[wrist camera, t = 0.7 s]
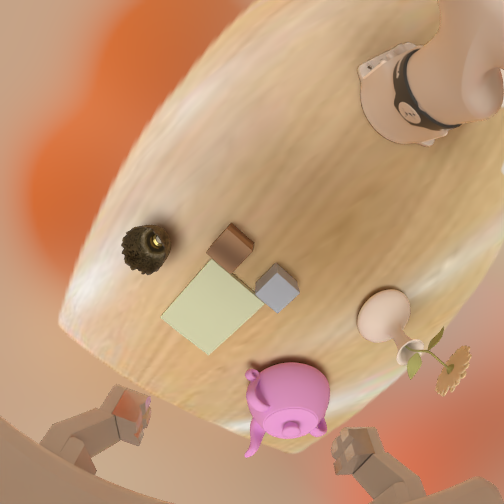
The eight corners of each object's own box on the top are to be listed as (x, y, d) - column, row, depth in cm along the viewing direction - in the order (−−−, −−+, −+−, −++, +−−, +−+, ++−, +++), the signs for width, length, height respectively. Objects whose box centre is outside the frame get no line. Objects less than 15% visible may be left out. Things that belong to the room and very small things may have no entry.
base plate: (212, 256, 47) (211, 258, 46) (264, 300, 49) (264, 303, 47) (162, 314, 51) (160, 317, 49) (209, 351, 52) (208, 355, 51)
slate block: (275, 262, 47) (277, 272, 42) (296, 281, 47) (299, 292, 43) (255, 282, 48) (254, 294, 43) (276, 300, 49) (277, 313, 44)
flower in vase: (374, 346, 51) (420, 436, 27) (343, 315, 49) (389, 412, 25) (420, 304, 48) (489, 377, 24) (394, 267, 46) (474, 339, 22)
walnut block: (231, 222, 45) (227, 228, 40) (253, 242, 46) (252, 251, 41) (211, 244, 46) (205, 252, 42) (234, 263, 47) (230, 274, 42)
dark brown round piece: (136, 247, 47) (115, 261, 39) (149, 211, 45) (128, 218, 37) (171, 266, 48) (155, 283, 40) (186, 229, 46) (171, 240, 38)
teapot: (211, 392, 56) (200, 439, 43) (274, 334, 51) (277, 383, 37) (284, 429, 59) (285, 472, 46) (349, 381, 54) (364, 426, 40)
